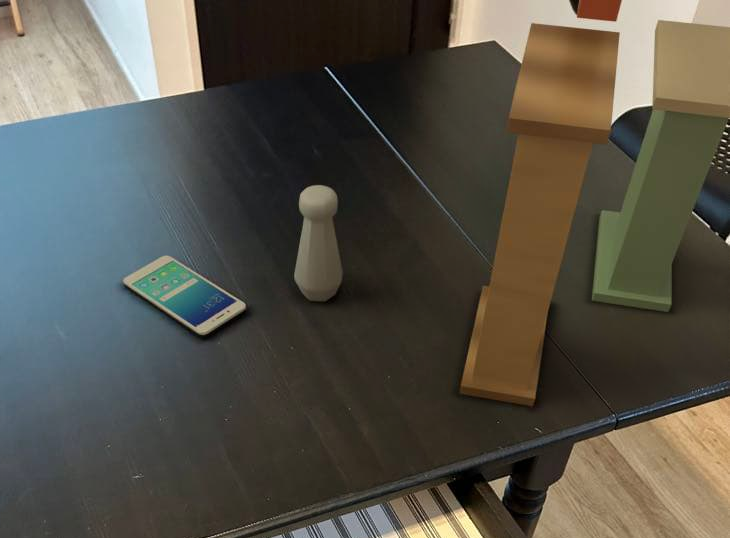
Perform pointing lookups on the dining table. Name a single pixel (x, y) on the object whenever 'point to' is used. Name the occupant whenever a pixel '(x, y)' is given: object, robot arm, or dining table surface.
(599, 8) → the bar
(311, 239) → the salt shaker
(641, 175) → the green pedestal column
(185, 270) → the smartphone
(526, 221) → the tall wooden pedestal
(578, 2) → the robot arm
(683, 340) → the dining table surface
